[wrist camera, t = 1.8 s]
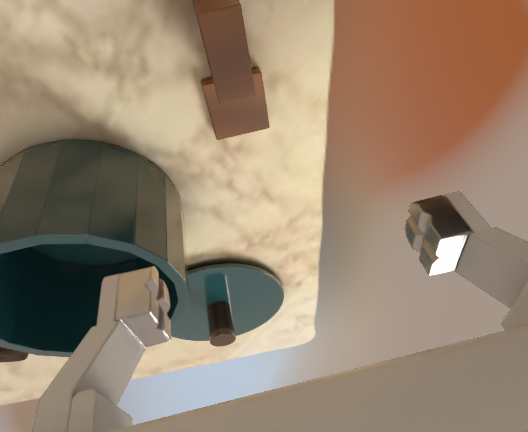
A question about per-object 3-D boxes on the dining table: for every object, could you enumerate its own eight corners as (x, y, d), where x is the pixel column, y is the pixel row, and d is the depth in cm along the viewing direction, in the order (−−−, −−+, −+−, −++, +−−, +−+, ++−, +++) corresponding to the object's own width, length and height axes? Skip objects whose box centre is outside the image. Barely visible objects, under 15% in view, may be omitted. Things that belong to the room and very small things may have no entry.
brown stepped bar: (176, -6, 22) (179, 17, 19) (245, -21, 22) (256, 0, 19) (215, 134, 29) (221, 164, 26) (267, 122, 29) (278, 150, 26)
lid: (126, 280, 39) (123, 325, 35) (273, 244, 39) (285, 285, 36) (173, 343, 50) (175, 382, 47) (287, 315, 51) (297, 351, 47)
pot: (-60, 167, 26) (-126, 273, 20) (148, 118, 27) (146, 208, 21) (53, 280, 37) (33, 373, 31) (201, 244, 37) (210, 328, 31)
